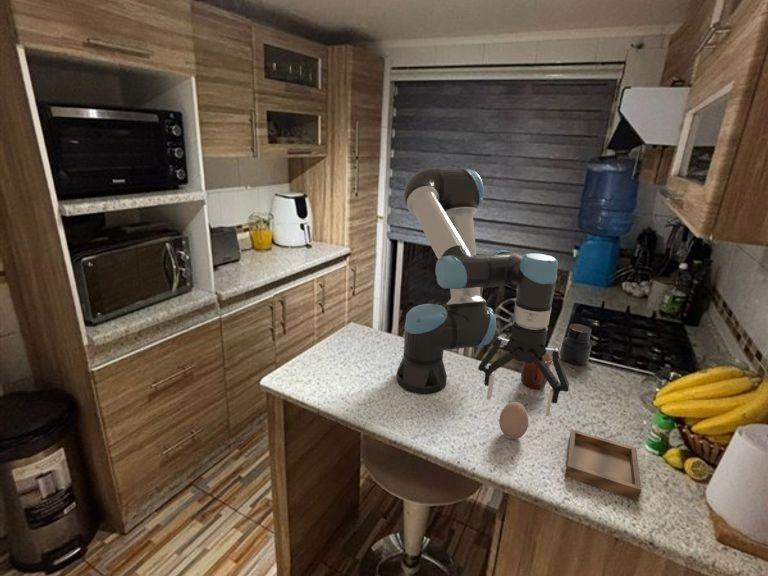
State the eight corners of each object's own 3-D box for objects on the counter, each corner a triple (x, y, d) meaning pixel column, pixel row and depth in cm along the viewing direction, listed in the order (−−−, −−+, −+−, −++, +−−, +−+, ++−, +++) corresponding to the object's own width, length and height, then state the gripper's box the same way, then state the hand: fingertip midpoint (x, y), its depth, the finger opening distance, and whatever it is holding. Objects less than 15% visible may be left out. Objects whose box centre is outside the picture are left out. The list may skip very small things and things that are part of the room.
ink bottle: (592, 360, 142) (600, 328, 138) (583, 369, 136) (591, 336, 132) (564, 350, 148) (570, 319, 144) (554, 359, 142) (560, 327, 138)
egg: (530, 437, 104) (536, 404, 100) (516, 450, 99) (522, 415, 96) (506, 424, 108) (511, 392, 105) (491, 435, 104) (496, 402, 100)
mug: (516, 375, 131) (521, 346, 128) (545, 379, 130) (551, 349, 126) (520, 396, 120) (525, 365, 117) (552, 401, 119) (558, 369, 115)
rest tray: (565, 476, 92) (567, 466, 91) (568, 439, 103) (571, 429, 102) (637, 501, 86) (641, 490, 85) (633, 458, 98) (636, 447, 97)
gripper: (471, 318, 95) (462, 398, 102) (591, 342, 85) (573, 429, 92) (479, 307, 102) (470, 384, 108) (591, 328, 91) (574, 411, 98)
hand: (517, 405), depth 100 cm, fingers open, 13 cm apart
